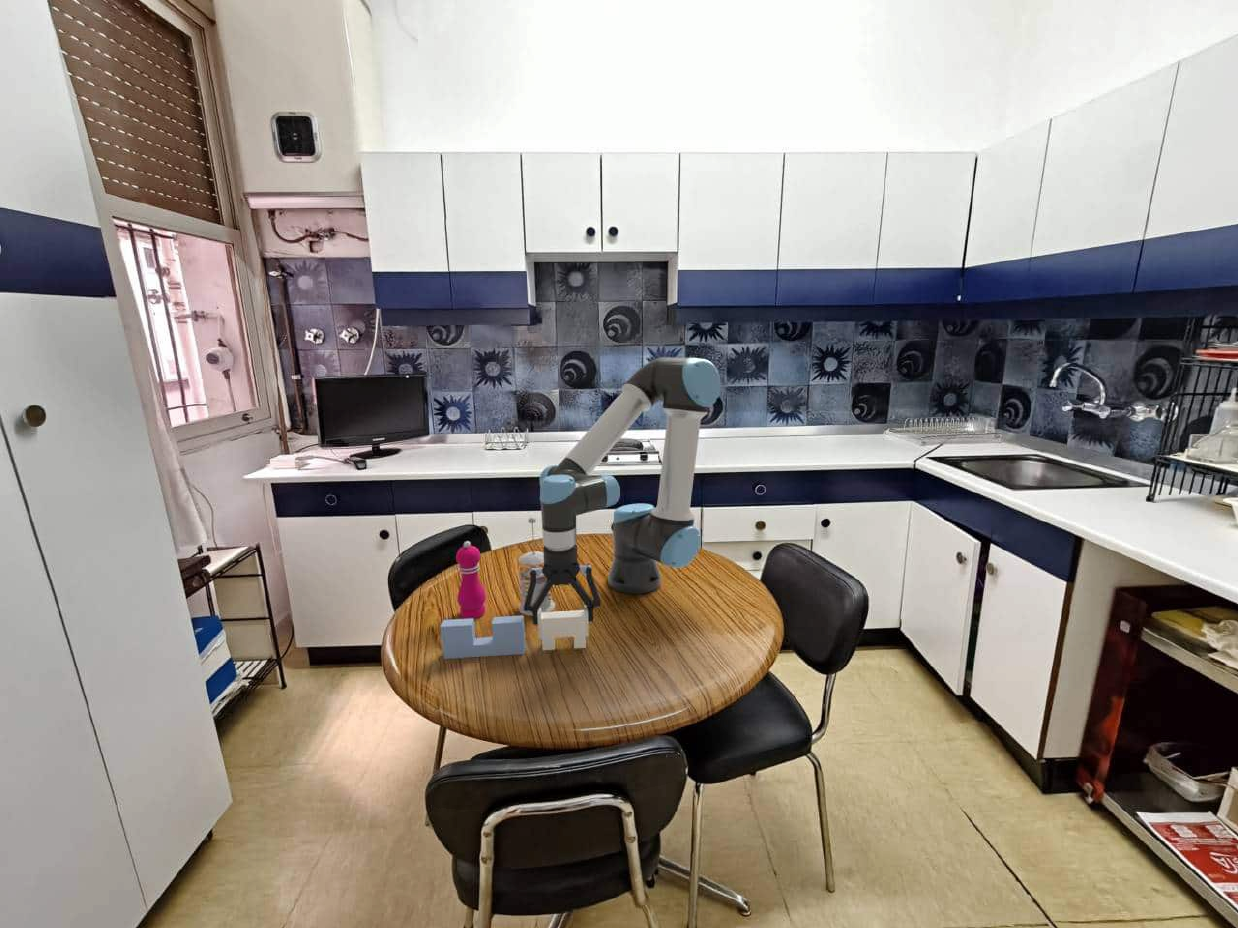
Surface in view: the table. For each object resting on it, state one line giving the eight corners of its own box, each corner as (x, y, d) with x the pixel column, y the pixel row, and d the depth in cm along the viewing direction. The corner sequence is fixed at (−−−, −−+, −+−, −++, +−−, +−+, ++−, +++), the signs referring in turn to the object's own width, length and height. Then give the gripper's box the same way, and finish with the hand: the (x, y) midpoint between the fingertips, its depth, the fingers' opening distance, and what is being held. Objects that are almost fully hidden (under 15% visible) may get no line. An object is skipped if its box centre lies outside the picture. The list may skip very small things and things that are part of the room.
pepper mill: (479, 621, 138) (473, 547, 134) (453, 618, 140) (446, 545, 135) (491, 607, 145) (486, 536, 140) (466, 605, 146) (460, 535, 142)
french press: (562, 601, 148) (558, 514, 142) (538, 621, 137) (533, 528, 132) (531, 595, 152) (526, 509, 146) (506, 614, 142) (500, 523, 136)
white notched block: (585, 640, 129) (584, 609, 127) (586, 647, 126) (585, 616, 124) (543, 643, 128) (541, 612, 126) (542, 650, 125) (540, 618, 123)
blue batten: (525, 646, 127) (523, 615, 125) (524, 653, 124) (522, 622, 122) (446, 651, 125) (443, 619, 123) (443, 658, 122) (440, 626, 120)
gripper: (609, 536, 126) (611, 623, 131) (510, 540, 124) (516, 629, 129) (611, 548, 118) (613, 640, 123) (506, 553, 116) (512, 646, 122)
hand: (564, 634), depth 126 cm, fingers closed on white notched block, 10 cm apart
